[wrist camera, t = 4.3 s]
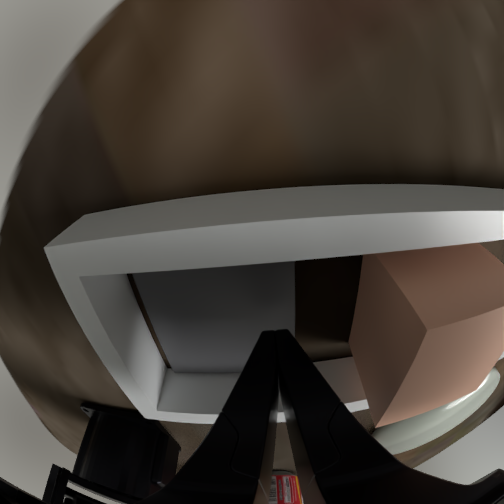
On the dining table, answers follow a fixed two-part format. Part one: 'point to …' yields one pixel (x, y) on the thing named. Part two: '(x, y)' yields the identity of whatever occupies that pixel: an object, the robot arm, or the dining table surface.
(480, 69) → the dining table surface
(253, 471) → the robot arm
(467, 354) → the block
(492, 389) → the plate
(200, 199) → the channel
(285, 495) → the soda can
